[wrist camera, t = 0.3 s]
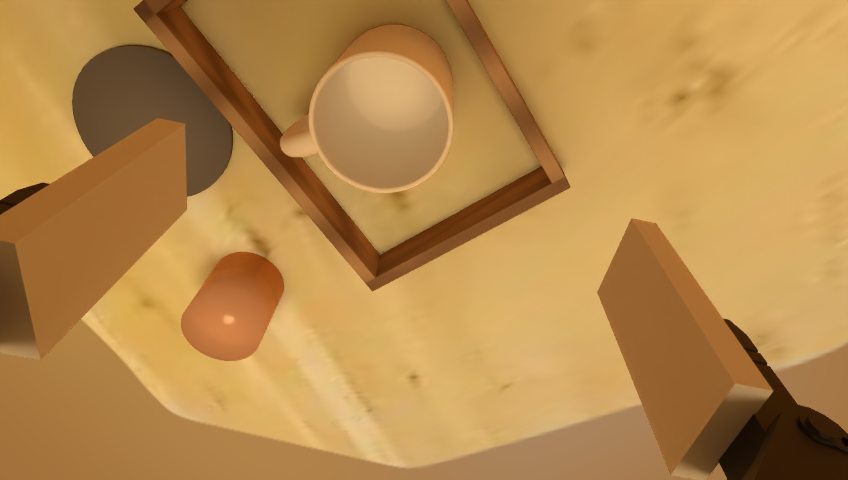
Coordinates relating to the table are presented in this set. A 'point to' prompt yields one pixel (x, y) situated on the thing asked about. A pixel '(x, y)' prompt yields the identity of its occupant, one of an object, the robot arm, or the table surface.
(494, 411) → the table surface
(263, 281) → the orange rounded cylinder
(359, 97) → the mug
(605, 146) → the table surface
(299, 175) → the frame
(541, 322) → the table surface
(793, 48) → the table surface
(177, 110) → the dark brown round mat
